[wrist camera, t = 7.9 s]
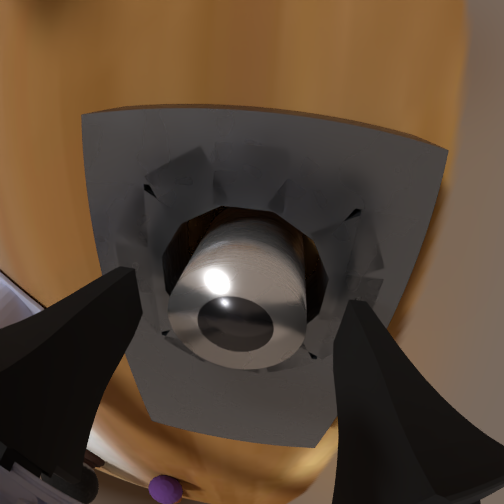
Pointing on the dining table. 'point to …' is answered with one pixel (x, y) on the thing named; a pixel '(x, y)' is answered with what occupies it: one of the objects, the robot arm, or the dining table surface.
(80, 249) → the dining table surface
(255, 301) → the bushing
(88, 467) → the black ball on stand
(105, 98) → the dining table surface
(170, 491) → the kendama
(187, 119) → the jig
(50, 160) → the dining table surface
